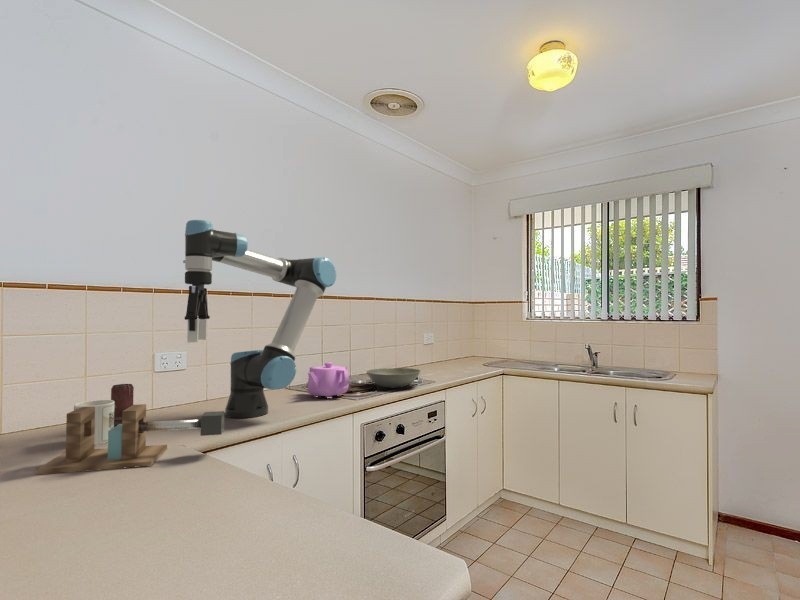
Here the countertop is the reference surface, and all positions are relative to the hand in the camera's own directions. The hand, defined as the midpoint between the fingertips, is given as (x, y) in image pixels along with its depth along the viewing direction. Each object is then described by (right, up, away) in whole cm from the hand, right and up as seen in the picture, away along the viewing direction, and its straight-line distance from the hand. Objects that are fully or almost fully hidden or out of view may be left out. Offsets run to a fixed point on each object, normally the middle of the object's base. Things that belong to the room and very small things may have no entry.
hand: (197, 341), depth 135 cm
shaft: (+4, -23, -19) cm, 30 cm away
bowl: (+58, -32, +90) cm, 112 cm away
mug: (-27, -29, -7) cm, 40 cm away
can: (-28, -29, +8) cm, 41 cm away
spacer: (-9, -27, -23) cm, 36 cm away
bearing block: (-12, -28, -23) cm, 38 cm away
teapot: (+30, -31, +64) cm, 77 cm away
